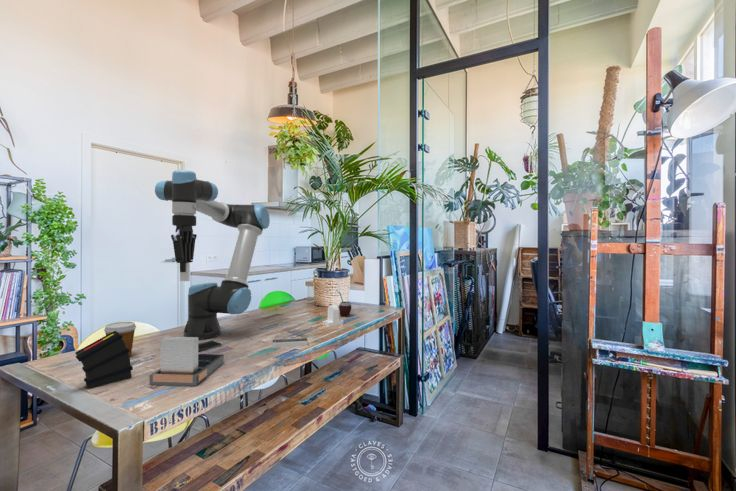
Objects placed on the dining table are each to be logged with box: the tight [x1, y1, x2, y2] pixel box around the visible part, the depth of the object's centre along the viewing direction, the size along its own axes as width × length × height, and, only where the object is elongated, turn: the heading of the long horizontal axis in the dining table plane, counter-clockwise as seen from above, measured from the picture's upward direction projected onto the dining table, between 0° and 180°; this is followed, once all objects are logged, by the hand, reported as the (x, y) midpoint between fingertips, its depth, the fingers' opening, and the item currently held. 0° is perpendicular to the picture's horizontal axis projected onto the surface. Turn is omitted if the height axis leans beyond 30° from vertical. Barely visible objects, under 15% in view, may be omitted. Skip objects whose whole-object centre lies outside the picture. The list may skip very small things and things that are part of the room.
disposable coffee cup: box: [103, 321, 137, 357], centre depth 124 cm, size 10×10×12 cm
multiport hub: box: [271, 337, 309, 349], centre depth 143 cm, size 4×14×2 cm, turn 106°
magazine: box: [74, 331, 134, 389], centre depth 104 cm, size 4×13×15 cm, turn 140°
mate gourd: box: [336, 289, 352, 318], centre depth 197 cm, size 8×8×15 cm
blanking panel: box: [160, 336, 199, 375], centre depth 106 cm, size 10×3×12 cm, turn 89°
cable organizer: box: [322, 304, 344, 328], centre depth 178 cm, size 5×10×10 cm, turn 130°
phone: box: [198, 340, 223, 353], centre depth 136 cm, size 8×1×15 cm
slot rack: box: [149, 353, 225, 387], centre depth 112 cm, size 14×19×3 cm
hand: (184, 280), depth 123 cm, fingers closed
